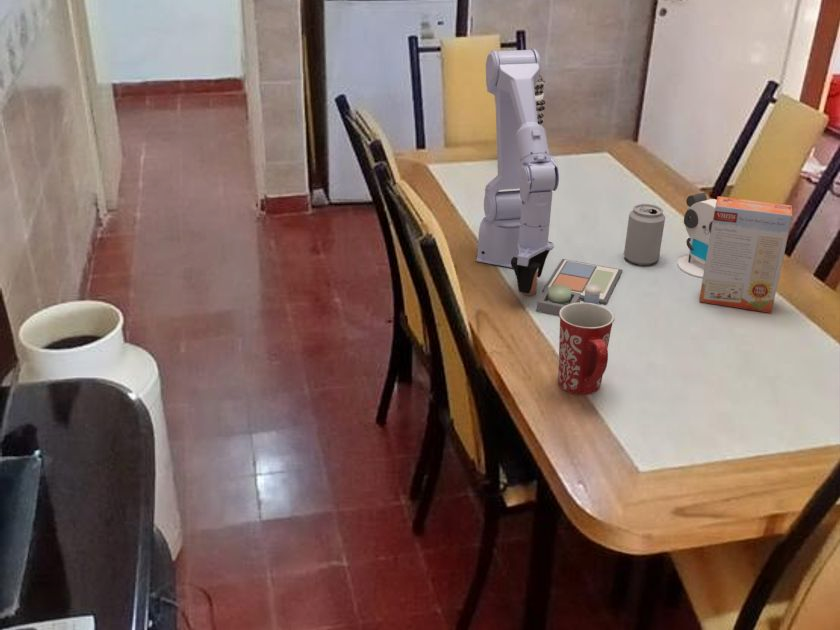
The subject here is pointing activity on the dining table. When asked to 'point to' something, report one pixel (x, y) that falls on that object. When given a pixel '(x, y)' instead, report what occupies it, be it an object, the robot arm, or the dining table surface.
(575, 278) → the colour zone board
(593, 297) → the slate blue marker
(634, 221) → the can
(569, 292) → the button
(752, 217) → the cracker box
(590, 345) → the mug
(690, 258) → the panda figurine
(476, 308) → the dining table surface
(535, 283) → the terracotta marker
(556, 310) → the button collar
